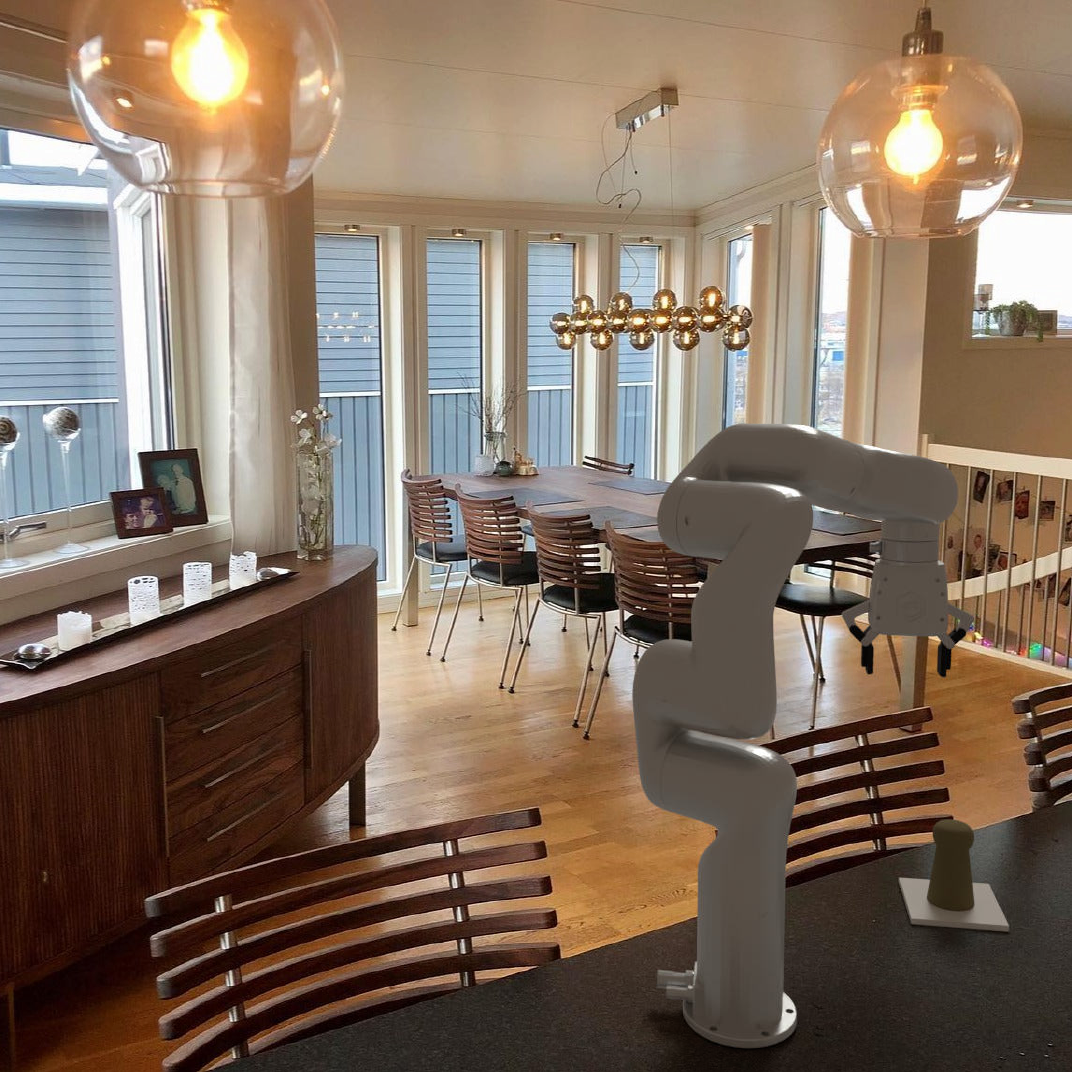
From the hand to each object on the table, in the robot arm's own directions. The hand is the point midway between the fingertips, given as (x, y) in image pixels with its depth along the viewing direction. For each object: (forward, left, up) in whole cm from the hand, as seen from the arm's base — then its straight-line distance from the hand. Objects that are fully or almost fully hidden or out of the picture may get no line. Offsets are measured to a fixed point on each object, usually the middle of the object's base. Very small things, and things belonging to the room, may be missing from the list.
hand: (905, 673), depth 150 cm
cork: (+6, -7, -30) cm, 31 cm away
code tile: (+6, -7, -30) cm, 32 cm away
